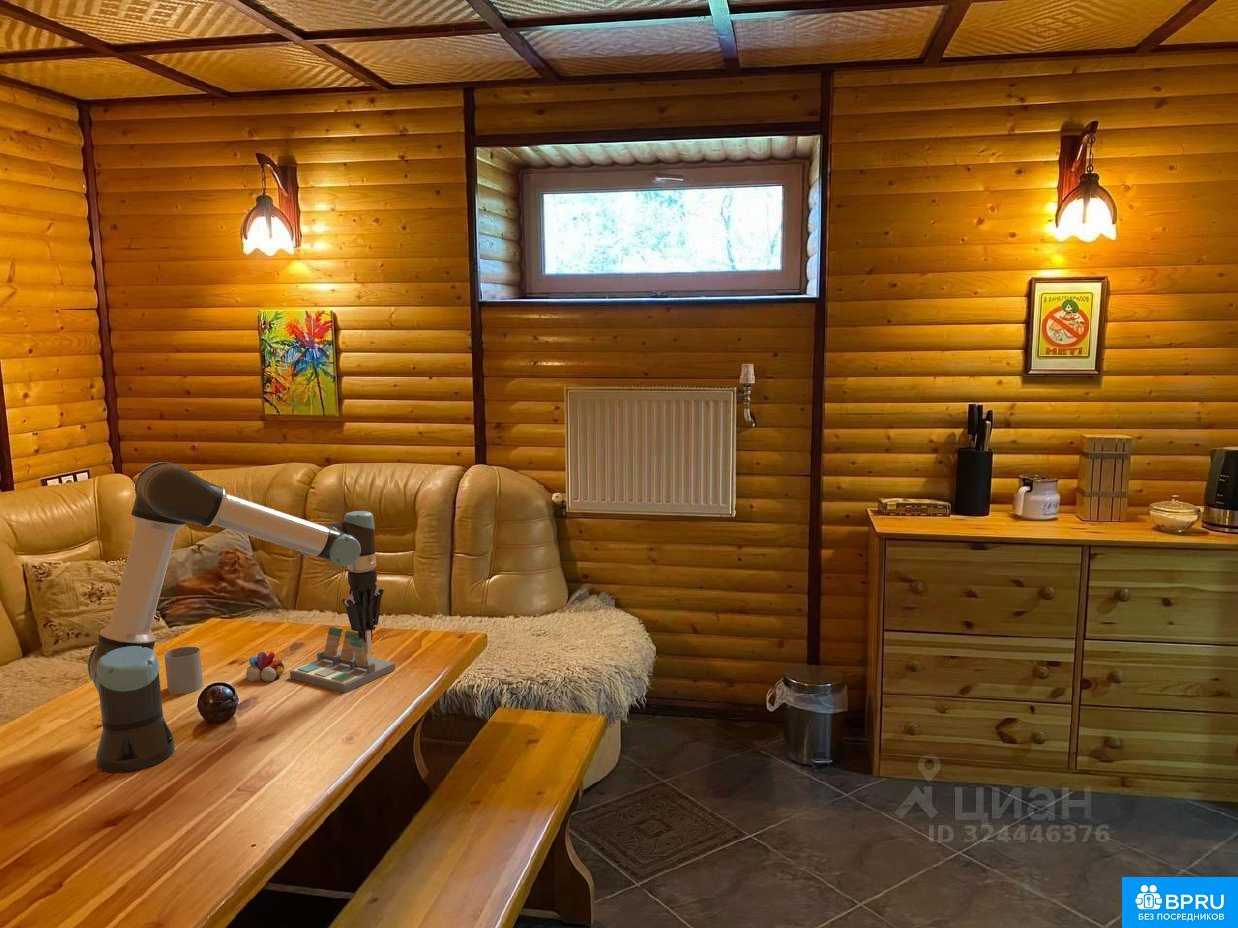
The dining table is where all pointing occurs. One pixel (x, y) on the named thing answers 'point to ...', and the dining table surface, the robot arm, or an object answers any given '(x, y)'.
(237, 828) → the dining table surface
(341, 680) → the switch board
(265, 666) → the rainbow disc wheeled toy
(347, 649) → the lever
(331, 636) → the lever
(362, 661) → the lever
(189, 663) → the cup
